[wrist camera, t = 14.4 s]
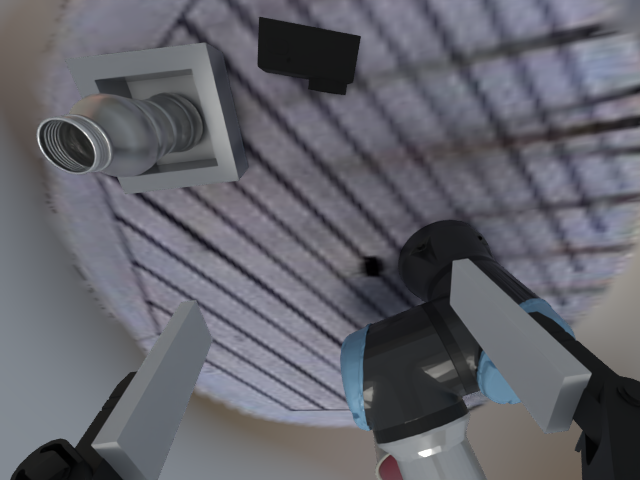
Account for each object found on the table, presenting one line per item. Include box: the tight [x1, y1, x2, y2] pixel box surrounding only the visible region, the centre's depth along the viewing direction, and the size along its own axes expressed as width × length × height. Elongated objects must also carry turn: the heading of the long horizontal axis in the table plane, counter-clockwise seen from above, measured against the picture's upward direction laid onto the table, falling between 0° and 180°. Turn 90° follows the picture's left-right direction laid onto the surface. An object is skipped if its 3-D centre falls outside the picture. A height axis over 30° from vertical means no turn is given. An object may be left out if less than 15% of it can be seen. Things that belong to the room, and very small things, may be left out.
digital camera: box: [258, 17, 361, 95], centre depth 32 cm, size 10×5×7 cm, turn 82°
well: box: [65, 43, 248, 194], centre depth 34 cm, size 14×14×7 cm
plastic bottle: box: [36, 92, 203, 177], centre depth 27 cm, size 6×7×20 cm
